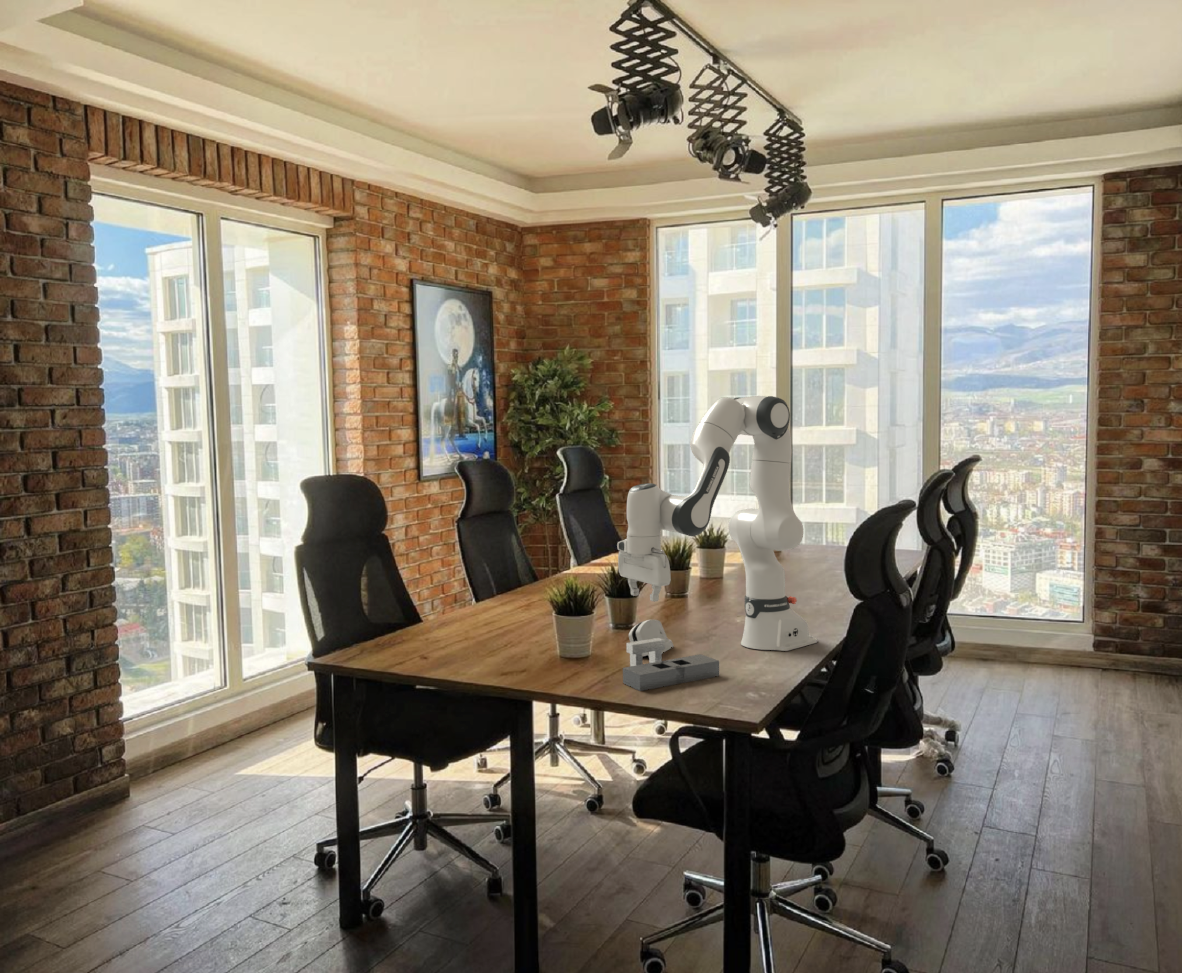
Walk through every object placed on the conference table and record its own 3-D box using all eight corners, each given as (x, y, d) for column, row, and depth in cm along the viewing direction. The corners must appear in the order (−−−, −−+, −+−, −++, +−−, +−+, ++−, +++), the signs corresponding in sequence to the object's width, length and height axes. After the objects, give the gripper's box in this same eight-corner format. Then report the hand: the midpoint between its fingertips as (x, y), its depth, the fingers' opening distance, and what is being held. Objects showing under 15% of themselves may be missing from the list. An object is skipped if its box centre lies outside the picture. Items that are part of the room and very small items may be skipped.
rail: (700, 669, 257) (700, 654, 257) (719, 676, 250) (719, 660, 250) (623, 683, 246) (622, 667, 245) (640, 691, 239) (639, 675, 238)
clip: (658, 665, 262) (658, 637, 262) (664, 667, 260) (664, 639, 259) (626, 670, 257) (626, 642, 257) (633, 673, 255) (632, 645, 254)
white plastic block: (650, 660, 268) (638, 625, 269) (636, 664, 270) (624, 629, 271) (674, 646, 283) (662, 613, 284) (660, 650, 285) (648, 617, 286)
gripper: (676, 549, 248) (676, 603, 249) (633, 540, 266) (634, 591, 267) (655, 551, 245) (656, 606, 246) (613, 542, 263) (614, 593, 264)
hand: (644, 598), depth 257 cm, fingers open, 8 cm apart
